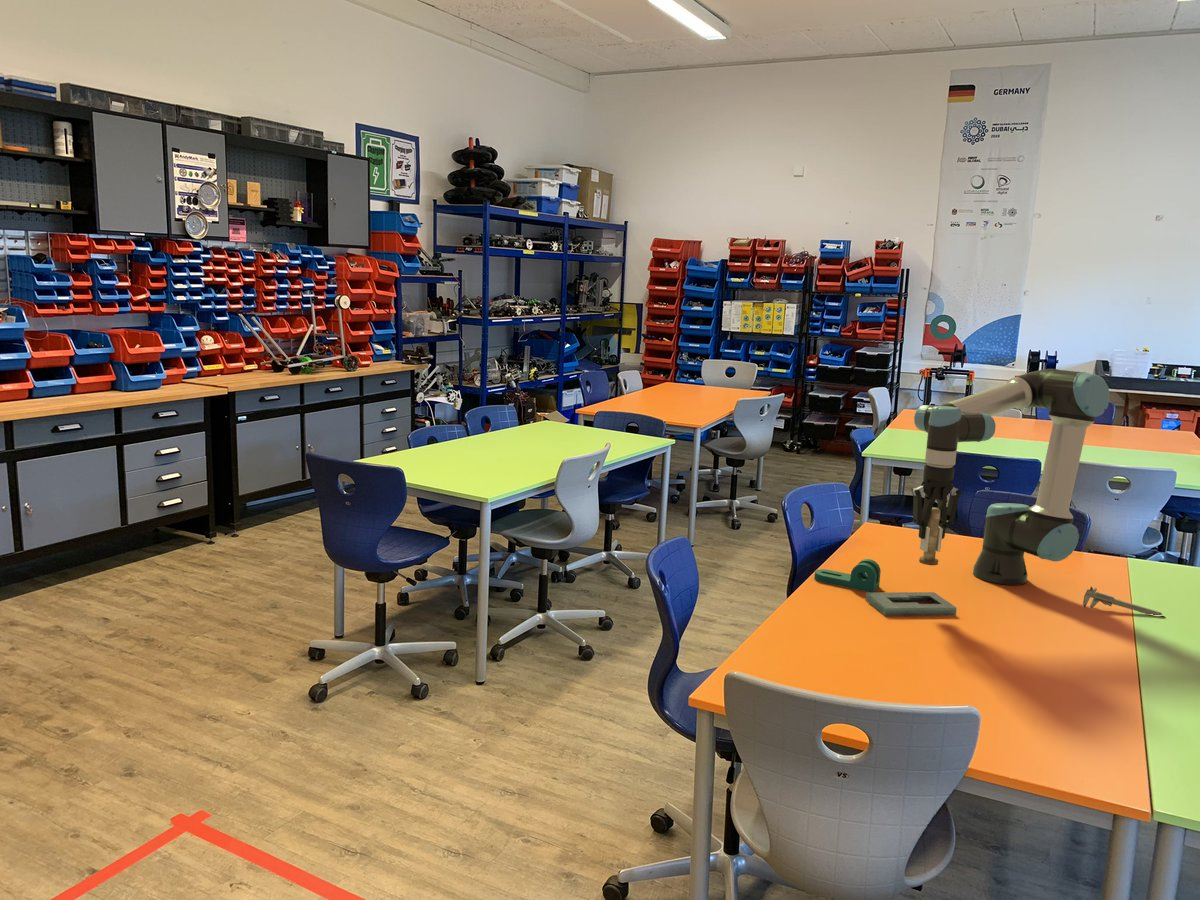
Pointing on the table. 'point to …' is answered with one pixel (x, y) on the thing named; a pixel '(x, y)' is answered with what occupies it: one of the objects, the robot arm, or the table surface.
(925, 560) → the peg
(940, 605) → the keyhole plate
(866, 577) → the bracket
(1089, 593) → the caliper
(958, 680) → the table surface
